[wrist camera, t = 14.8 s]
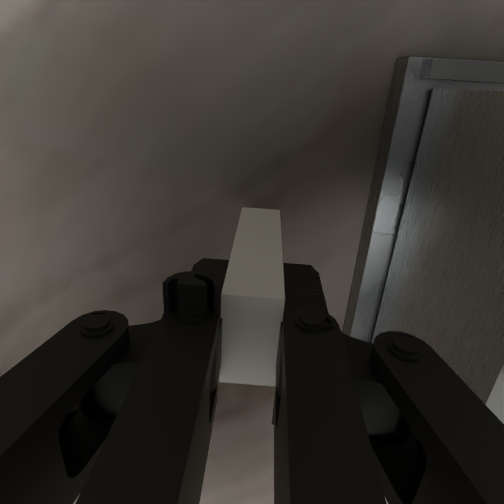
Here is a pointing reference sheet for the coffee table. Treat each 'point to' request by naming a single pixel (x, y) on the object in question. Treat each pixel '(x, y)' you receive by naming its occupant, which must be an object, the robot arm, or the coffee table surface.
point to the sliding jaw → (455, 242)
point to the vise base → (402, 171)
